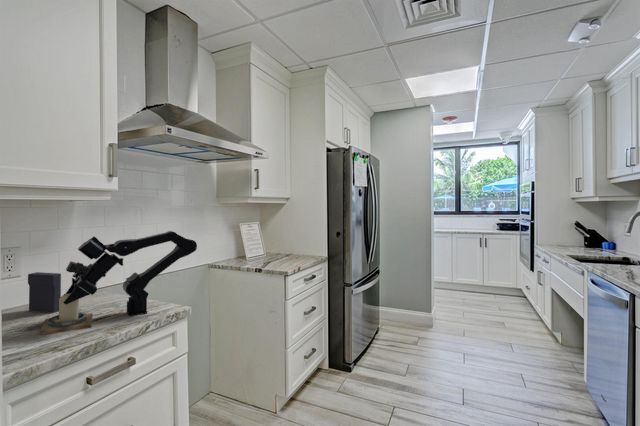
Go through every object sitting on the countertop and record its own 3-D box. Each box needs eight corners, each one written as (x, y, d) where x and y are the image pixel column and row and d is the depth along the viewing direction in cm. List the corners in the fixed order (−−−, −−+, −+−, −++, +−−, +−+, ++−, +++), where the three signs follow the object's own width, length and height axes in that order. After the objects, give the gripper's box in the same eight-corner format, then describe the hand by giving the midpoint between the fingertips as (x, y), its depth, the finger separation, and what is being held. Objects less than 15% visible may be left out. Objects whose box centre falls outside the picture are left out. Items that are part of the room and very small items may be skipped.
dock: (92, 315, 127) (92, 309, 127) (91, 327, 115) (91, 320, 115) (45, 321, 119) (45, 314, 119) (39, 334, 108) (39, 327, 108)
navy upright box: (62, 310, 132) (62, 273, 132) (52, 313, 128) (53, 275, 128) (37, 308, 134) (38, 271, 133) (27, 311, 129) (27, 273, 129)
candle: (55, 324, 115) (55, 295, 114) (65, 318, 120) (66, 291, 120) (71, 324, 115) (72, 295, 115) (81, 318, 121) (82, 291, 120)
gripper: (79, 250, 127) (42, 282, 120) (85, 256, 113) (43, 293, 106) (103, 268, 132) (69, 300, 125) (112, 276, 118) (73, 313, 111)
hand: (63, 301), depth 116 cm, fingers open, 6 cm apart
